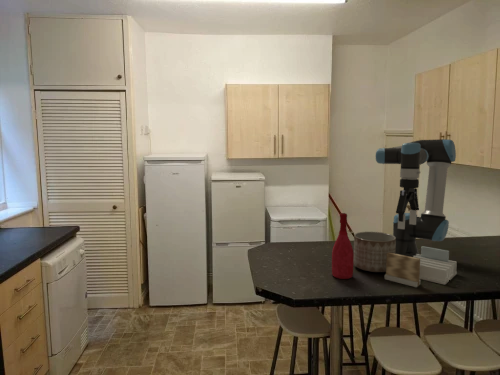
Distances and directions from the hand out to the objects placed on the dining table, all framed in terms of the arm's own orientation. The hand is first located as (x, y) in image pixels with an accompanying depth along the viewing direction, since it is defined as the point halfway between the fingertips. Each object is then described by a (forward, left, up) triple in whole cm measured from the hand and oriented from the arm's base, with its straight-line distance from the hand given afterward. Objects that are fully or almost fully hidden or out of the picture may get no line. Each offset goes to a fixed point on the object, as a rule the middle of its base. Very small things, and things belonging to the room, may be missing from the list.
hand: (407, 226), depth 156 cm
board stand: (-1, -1, -25) cm, 25 cm away
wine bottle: (-24, -13, -25) cm, 37 cm away
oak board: (-1, -1, -25) cm, 25 cm away
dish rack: (+5, +17, -25) cm, 31 cm away
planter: (-18, +7, -25) cm, 31 cm away
